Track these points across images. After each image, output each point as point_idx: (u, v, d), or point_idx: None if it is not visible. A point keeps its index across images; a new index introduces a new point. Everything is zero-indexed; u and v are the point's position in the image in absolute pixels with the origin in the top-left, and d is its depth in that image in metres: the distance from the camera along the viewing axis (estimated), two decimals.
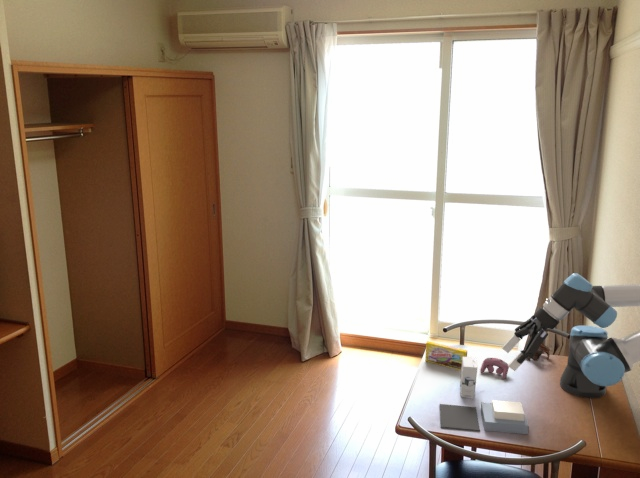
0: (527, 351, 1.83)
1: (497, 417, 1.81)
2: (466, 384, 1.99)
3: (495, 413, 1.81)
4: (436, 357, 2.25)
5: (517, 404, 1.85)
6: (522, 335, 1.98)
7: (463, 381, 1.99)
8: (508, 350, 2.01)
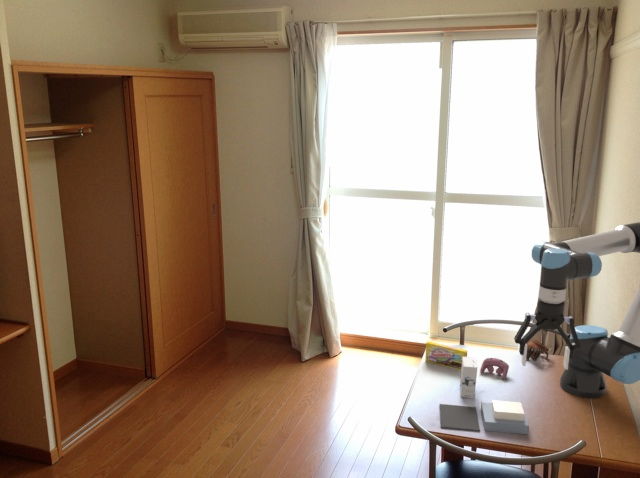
0: (578, 344, 1.74)
1: (497, 417, 1.81)
2: (466, 384, 1.99)
3: (495, 413, 1.81)
4: (436, 357, 2.25)
5: (517, 404, 1.85)
6: None
7: (463, 381, 1.99)
8: None
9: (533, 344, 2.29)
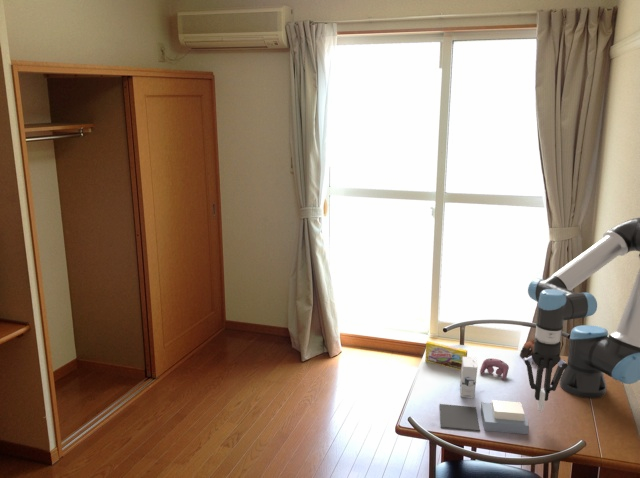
0: (555, 387, 1.78)
1: (497, 417, 1.81)
2: (466, 384, 1.99)
3: (495, 413, 1.81)
4: (436, 357, 2.25)
5: (517, 404, 1.85)
6: None
7: (463, 381, 1.99)
8: None
9: (531, 343, 2.29)
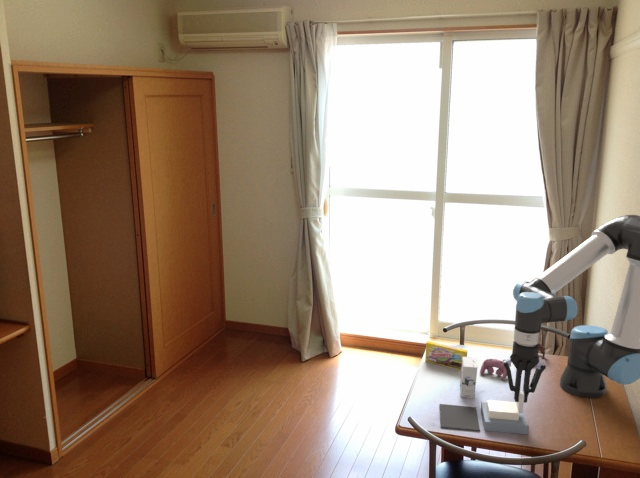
0: (534, 389, 1.80)
1: (492, 417, 1.82)
2: (466, 384, 1.99)
3: (490, 413, 1.81)
4: (436, 357, 2.25)
5: (511, 403, 1.86)
6: None
7: (463, 381, 1.99)
8: None
9: None
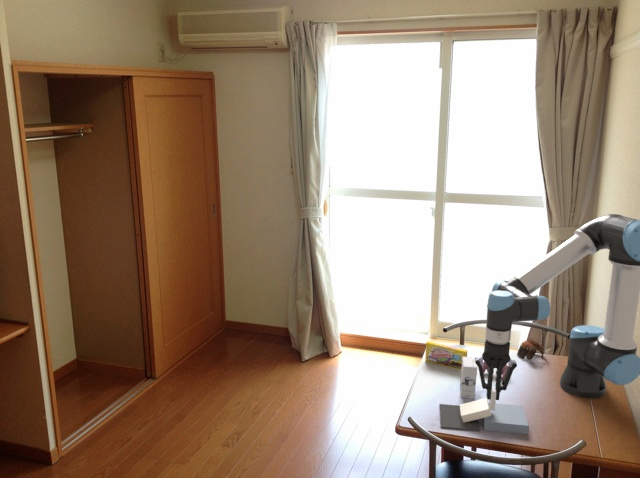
0: (505, 387, 1.81)
1: (466, 420, 1.83)
2: (466, 384, 1.99)
3: (462, 417, 1.83)
4: (436, 357, 2.25)
5: (482, 400, 1.87)
6: None
7: (463, 381, 1.99)
8: None
9: (528, 343, 2.30)
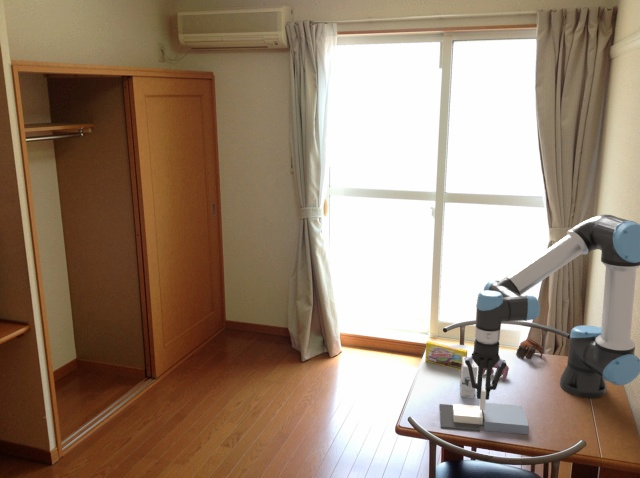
0: (495, 386, 1.82)
1: (456, 421, 1.84)
2: (466, 384, 1.99)
3: (454, 417, 1.84)
4: (436, 357, 2.25)
5: (477, 407, 1.88)
6: None
7: (463, 381, 1.99)
8: None
9: (527, 343, 2.30)
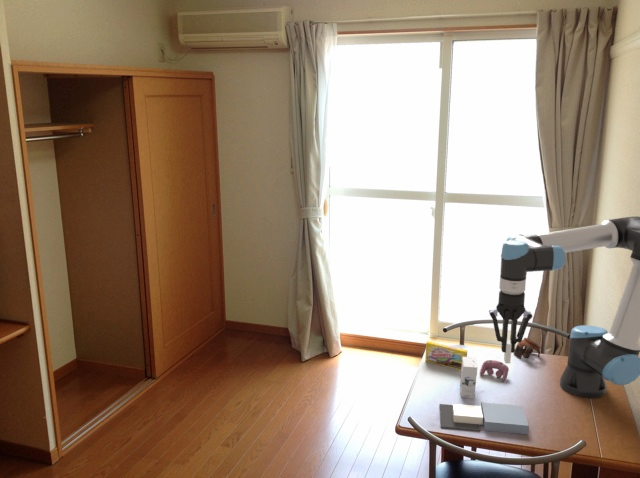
0: (521, 339, 1.78)
1: (456, 421, 1.84)
2: (466, 384, 1.99)
3: (454, 417, 1.84)
4: (436, 357, 2.25)
5: (477, 407, 1.88)
6: None
7: (463, 381, 1.99)
8: None
9: (525, 342, 2.30)
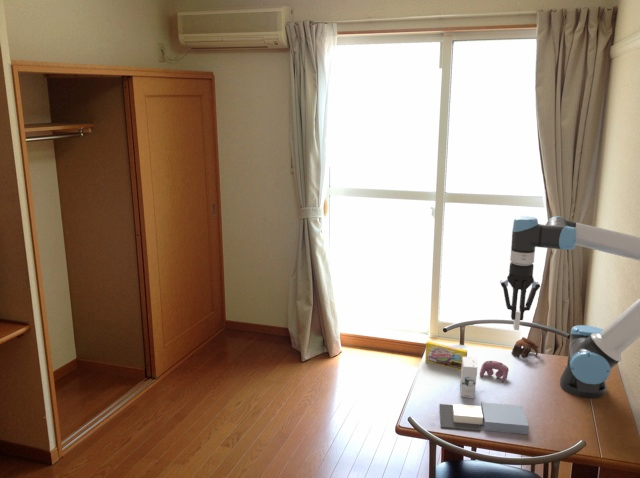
0: (529, 307, 1.94)
1: (456, 421, 1.84)
2: (466, 384, 1.99)
3: (454, 417, 1.84)
4: (436, 357, 2.25)
5: (477, 407, 1.88)
6: None
7: (463, 381, 1.99)
8: None
9: (523, 342, 2.31)
